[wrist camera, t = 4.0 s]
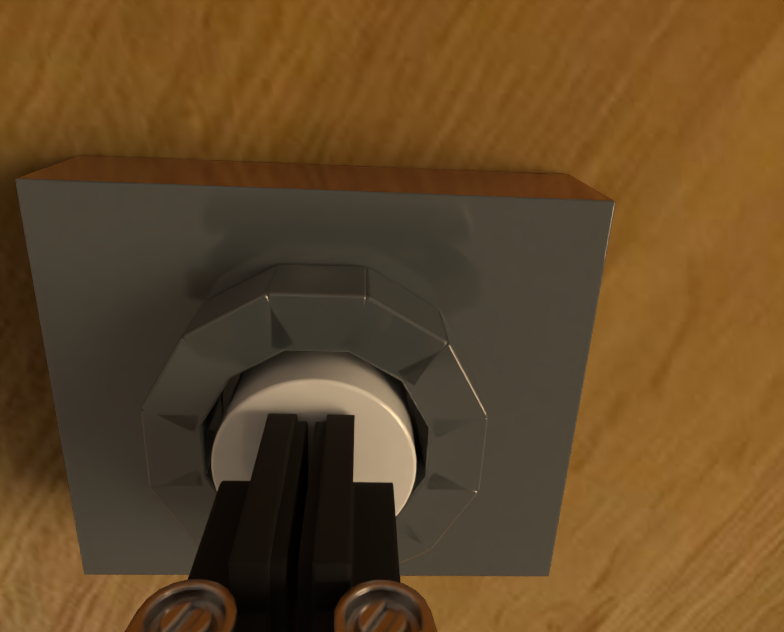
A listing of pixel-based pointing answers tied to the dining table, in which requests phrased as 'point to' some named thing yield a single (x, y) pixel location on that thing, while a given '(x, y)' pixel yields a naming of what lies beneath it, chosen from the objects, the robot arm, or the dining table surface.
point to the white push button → (321, 415)
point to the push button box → (314, 336)
